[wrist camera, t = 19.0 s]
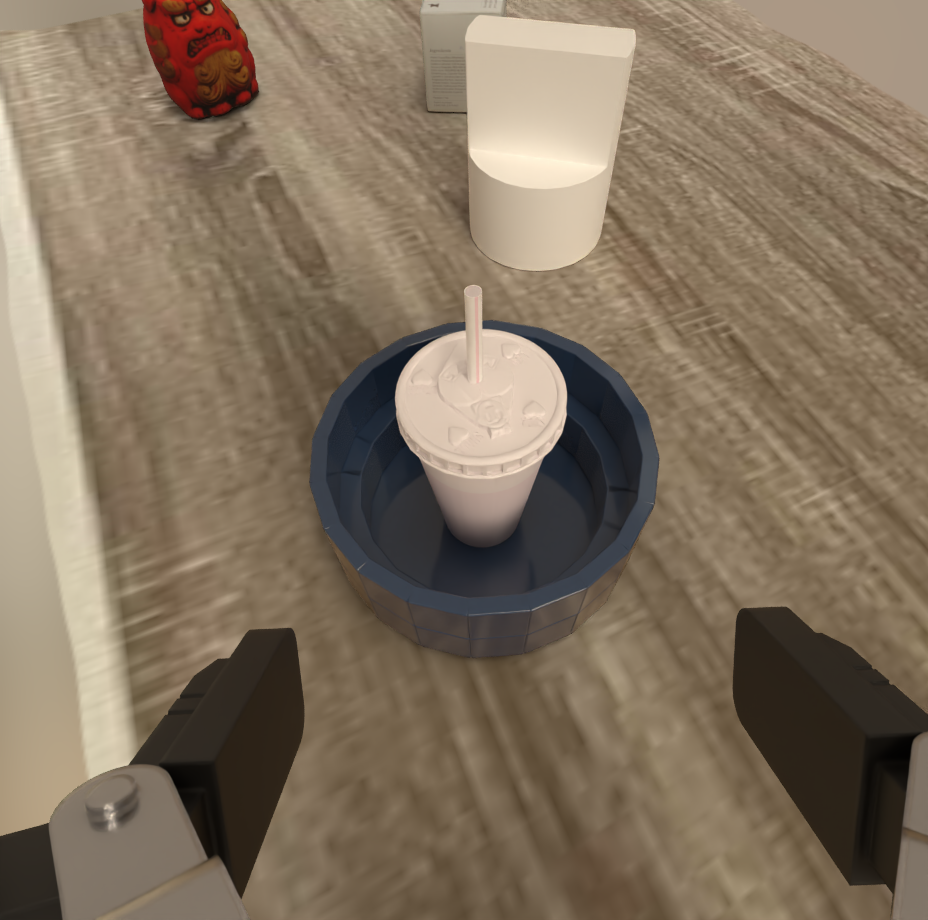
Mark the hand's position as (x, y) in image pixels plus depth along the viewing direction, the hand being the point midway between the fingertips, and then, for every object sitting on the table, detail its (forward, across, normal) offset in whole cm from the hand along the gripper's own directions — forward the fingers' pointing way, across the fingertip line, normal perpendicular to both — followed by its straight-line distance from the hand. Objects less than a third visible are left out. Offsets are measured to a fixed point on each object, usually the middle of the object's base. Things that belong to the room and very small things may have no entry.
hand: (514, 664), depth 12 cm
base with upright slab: (+36, -5, -12) cm, 38 cm away
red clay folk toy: (+49, +21, -24) cm, 58 cm away
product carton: (+48, 0, -24) cm, 54 cm away
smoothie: (+20, 0, +4) cm, 20 cm away
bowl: (+20, 0, +4) cm, 21 cm away
